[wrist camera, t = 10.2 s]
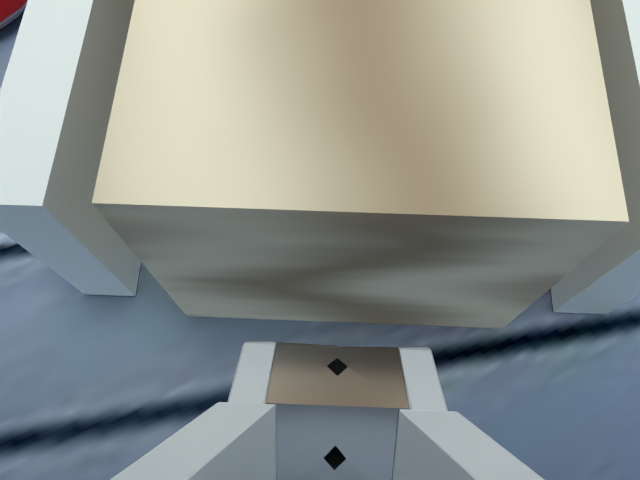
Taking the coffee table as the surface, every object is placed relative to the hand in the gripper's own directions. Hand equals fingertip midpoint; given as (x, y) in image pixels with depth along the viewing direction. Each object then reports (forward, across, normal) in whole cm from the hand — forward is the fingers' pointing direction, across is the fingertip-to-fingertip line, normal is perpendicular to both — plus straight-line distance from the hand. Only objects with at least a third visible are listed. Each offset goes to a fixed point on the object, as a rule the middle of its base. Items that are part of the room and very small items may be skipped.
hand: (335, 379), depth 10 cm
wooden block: (+10, 0, -1) cm, 10 cm away
